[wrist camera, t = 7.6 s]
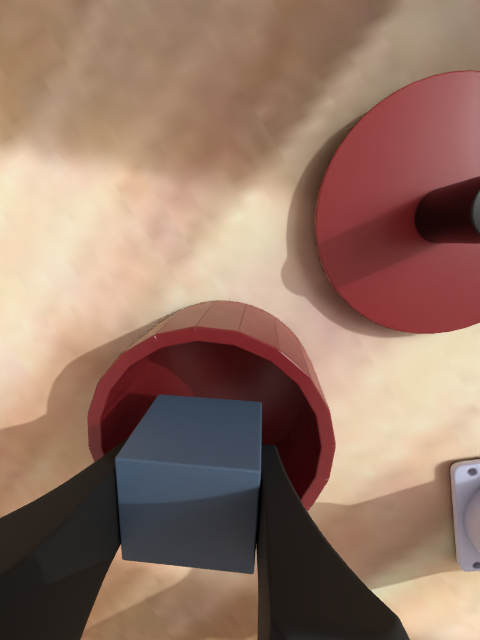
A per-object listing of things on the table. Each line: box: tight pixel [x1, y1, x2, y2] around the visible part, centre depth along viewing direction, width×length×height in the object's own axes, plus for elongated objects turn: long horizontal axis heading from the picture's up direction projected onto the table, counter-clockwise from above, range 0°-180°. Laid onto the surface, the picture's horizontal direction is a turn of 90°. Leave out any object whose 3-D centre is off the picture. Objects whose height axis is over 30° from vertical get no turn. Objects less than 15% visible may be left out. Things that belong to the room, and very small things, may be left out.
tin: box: [88, 301, 336, 511], centre depth 15 cm, size 10×10×5 cm
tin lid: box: [314, 71, 480, 334], centre depth 12 cm, size 11×11×5 cm
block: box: [115, 394, 262, 574], centre depth 11 cm, size 4×4×4 cm
